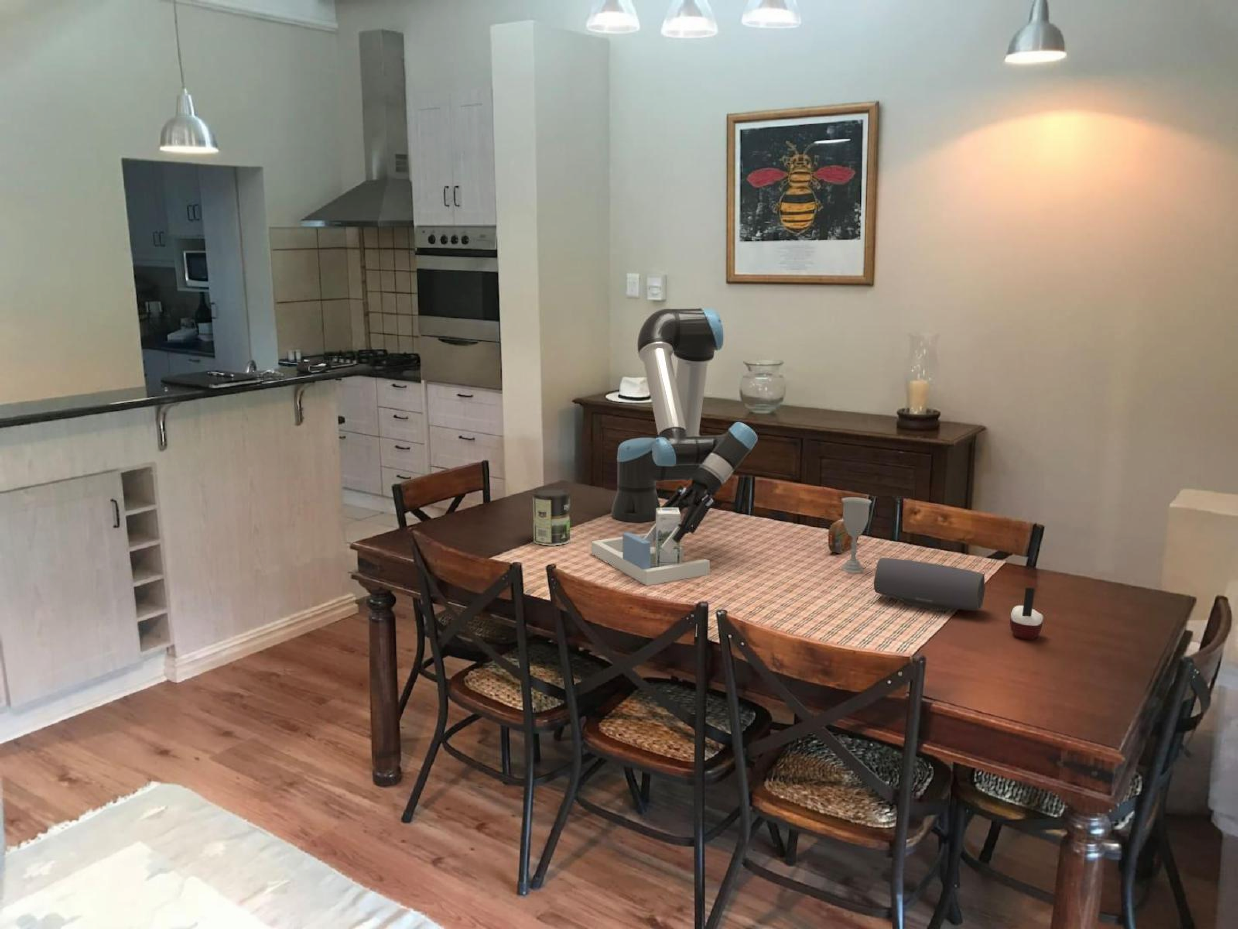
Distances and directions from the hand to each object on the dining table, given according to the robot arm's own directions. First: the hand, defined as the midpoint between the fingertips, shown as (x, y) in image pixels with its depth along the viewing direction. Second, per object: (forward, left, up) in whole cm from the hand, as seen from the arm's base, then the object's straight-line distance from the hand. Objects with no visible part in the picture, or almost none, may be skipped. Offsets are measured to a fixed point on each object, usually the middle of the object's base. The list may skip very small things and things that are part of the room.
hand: (655, 546), depth 244 cm
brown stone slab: (+6, +55, -7) cm, 56 cm away
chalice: (+21, +45, -7) cm, 51 cm away
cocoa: (+72, +46, -7) cm, 86 cm away
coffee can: (-38, -11, -7) cm, 40 cm away
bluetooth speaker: (+49, +42, -7) cm, 65 cm away
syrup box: (0, +3, -6) cm, 7 cm away
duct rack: (-7, +2, -7) cm, 11 cm away
